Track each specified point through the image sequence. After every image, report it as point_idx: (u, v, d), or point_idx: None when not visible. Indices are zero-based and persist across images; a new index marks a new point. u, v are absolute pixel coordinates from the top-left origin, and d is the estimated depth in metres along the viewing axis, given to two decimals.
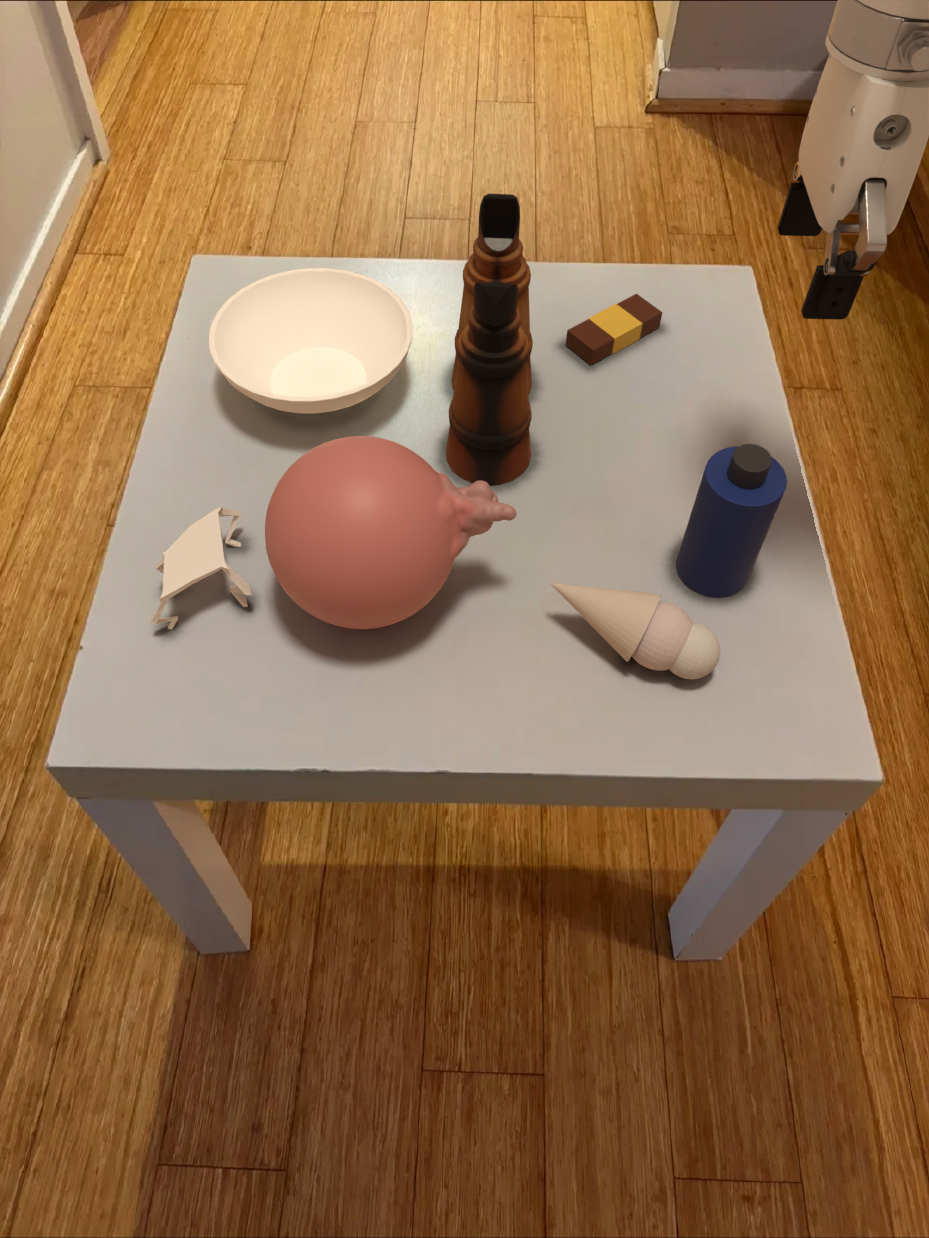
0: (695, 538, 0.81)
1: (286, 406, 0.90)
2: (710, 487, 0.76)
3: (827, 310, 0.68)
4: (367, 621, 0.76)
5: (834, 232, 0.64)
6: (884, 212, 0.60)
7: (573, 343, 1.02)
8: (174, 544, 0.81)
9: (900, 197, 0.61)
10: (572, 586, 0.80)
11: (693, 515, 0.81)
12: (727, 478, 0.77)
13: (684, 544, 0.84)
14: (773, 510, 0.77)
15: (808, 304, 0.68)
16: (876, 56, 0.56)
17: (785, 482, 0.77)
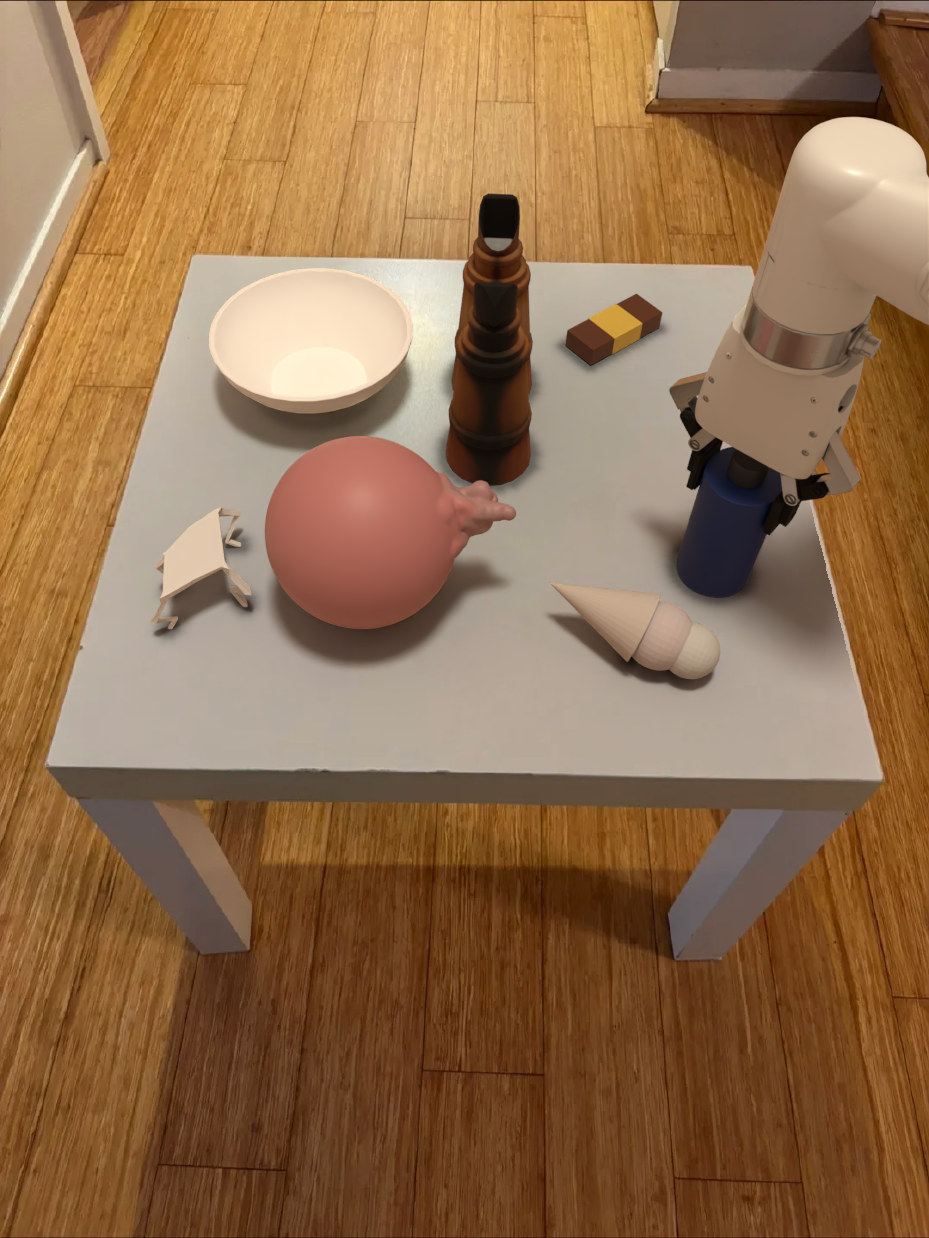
0: (695, 538, 0.81)
1: (287, 406, 0.90)
2: (710, 487, 0.76)
3: (788, 521, 0.77)
4: (367, 621, 0.76)
5: (795, 477, 0.72)
6: (847, 455, 0.70)
7: (573, 343, 1.02)
8: (174, 544, 0.81)
9: (844, 427, 0.70)
10: (572, 586, 0.80)
11: (693, 515, 0.81)
12: (727, 478, 0.77)
13: (684, 544, 0.84)
14: None
15: (772, 526, 0.76)
16: (829, 360, 0.63)
17: None
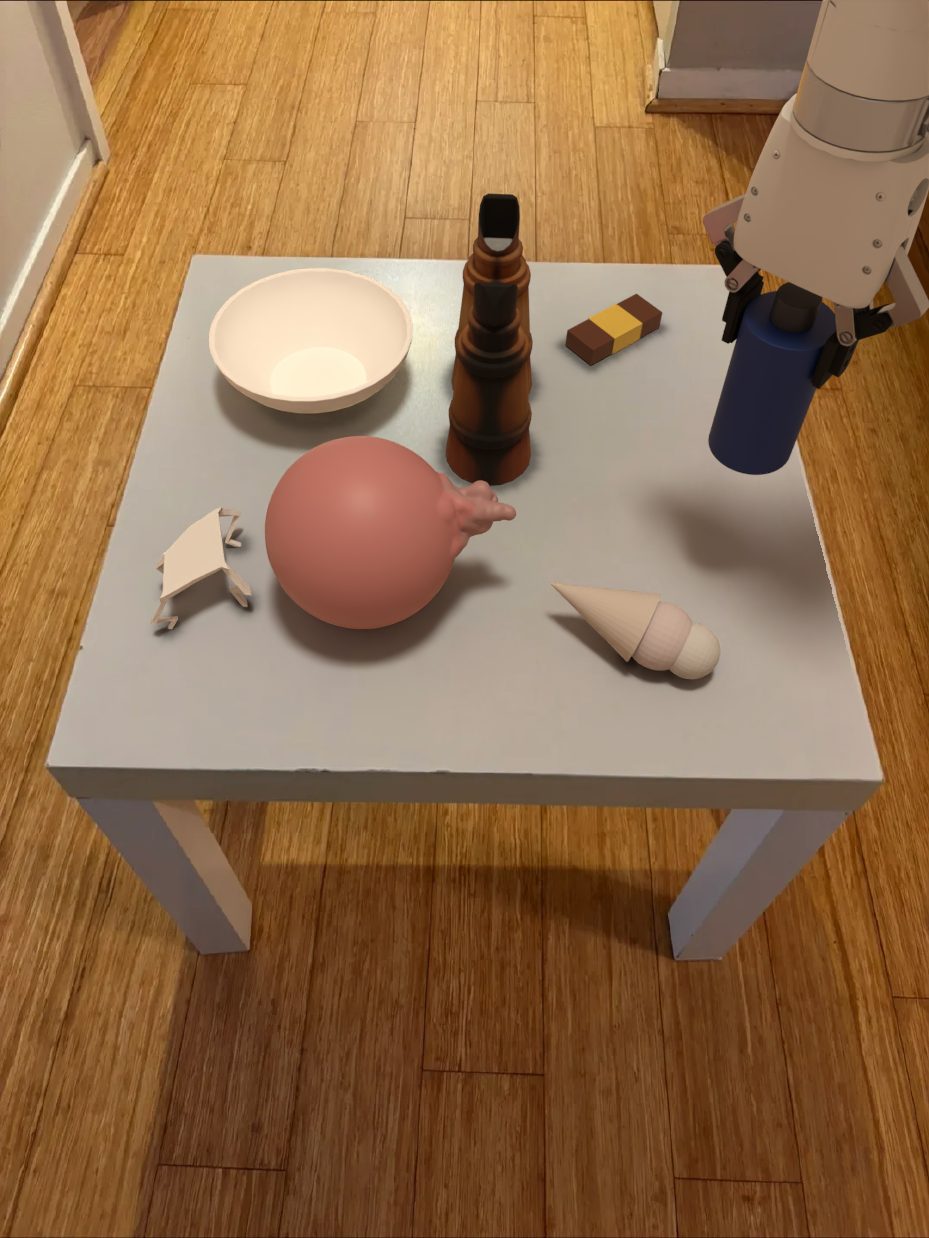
0: (732, 402, 0.71)
1: (286, 406, 0.90)
2: (750, 332, 0.66)
3: (841, 371, 0.67)
4: (367, 621, 0.76)
5: (853, 308, 0.62)
6: (915, 275, 0.60)
7: (573, 343, 1.02)
8: (174, 544, 0.81)
9: (910, 244, 0.60)
10: (572, 586, 0.80)
11: (729, 374, 0.71)
12: (770, 322, 0.67)
13: (718, 413, 0.74)
14: None
15: (823, 376, 0.66)
16: (901, 140, 0.53)
17: None
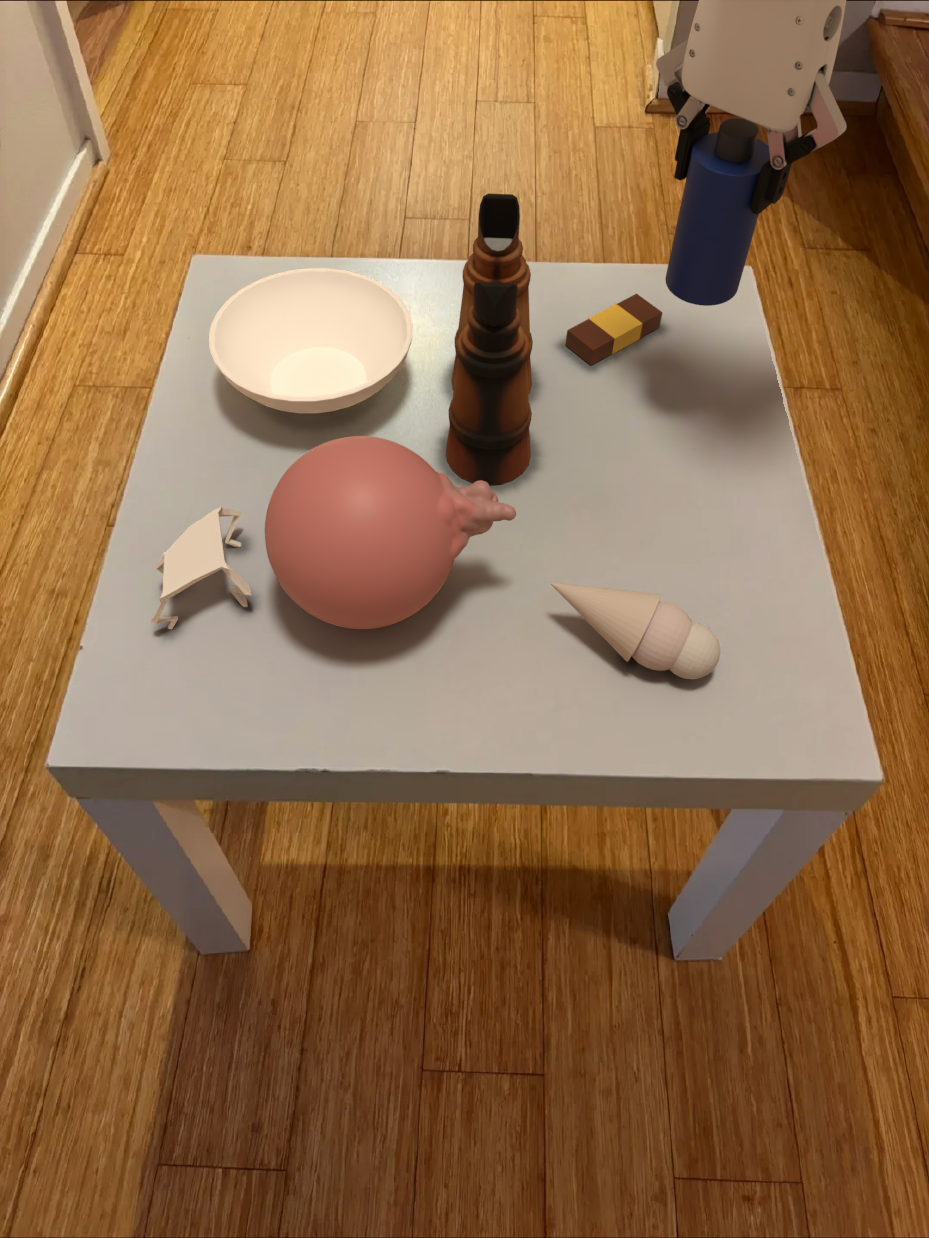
0: (683, 233, 0.81)
1: (286, 406, 0.90)
2: (697, 162, 0.76)
3: (776, 198, 0.77)
4: (367, 621, 0.76)
5: (782, 133, 0.72)
6: (834, 99, 0.70)
7: (573, 343, 1.02)
8: (174, 544, 0.81)
9: (830, 74, 0.70)
10: (572, 586, 0.80)
11: (681, 208, 0.81)
12: (714, 155, 0.77)
13: (673, 249, 0.84)
14: None
15: (760, 201, 0.76)
16: None
17: None
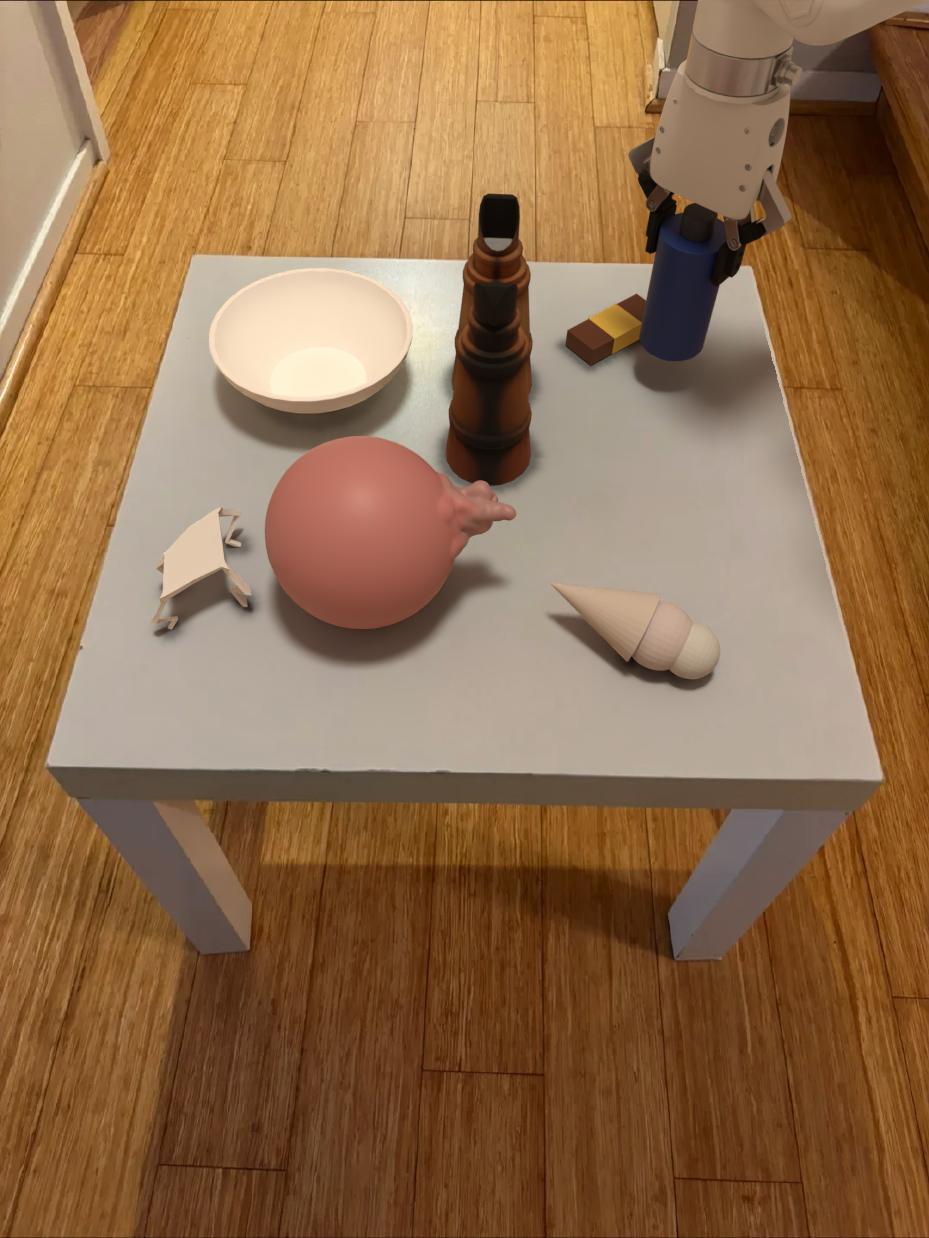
0: (653, 300, 0.92)
1: (286, 406, 0.90)
2: (664, 241, 0.87)
3: (733, 272, 0.87)
4: (367, 621, 0.76)
5: (736, 220, 0.83)
6: (780, 193, 0.80)
7: (573, 343, 1.02)
8: (174, 544, 0.81)
9: (777, 171, 0.81)
10: (572, 586, 0.80)
11: (651, 278, 0.91)
12: (679, 234, 0.87)
13: (645, 311, 0.94)
14: None
15: (719, 276, 0.87)
16: (758, 88, 0.74)
17: None
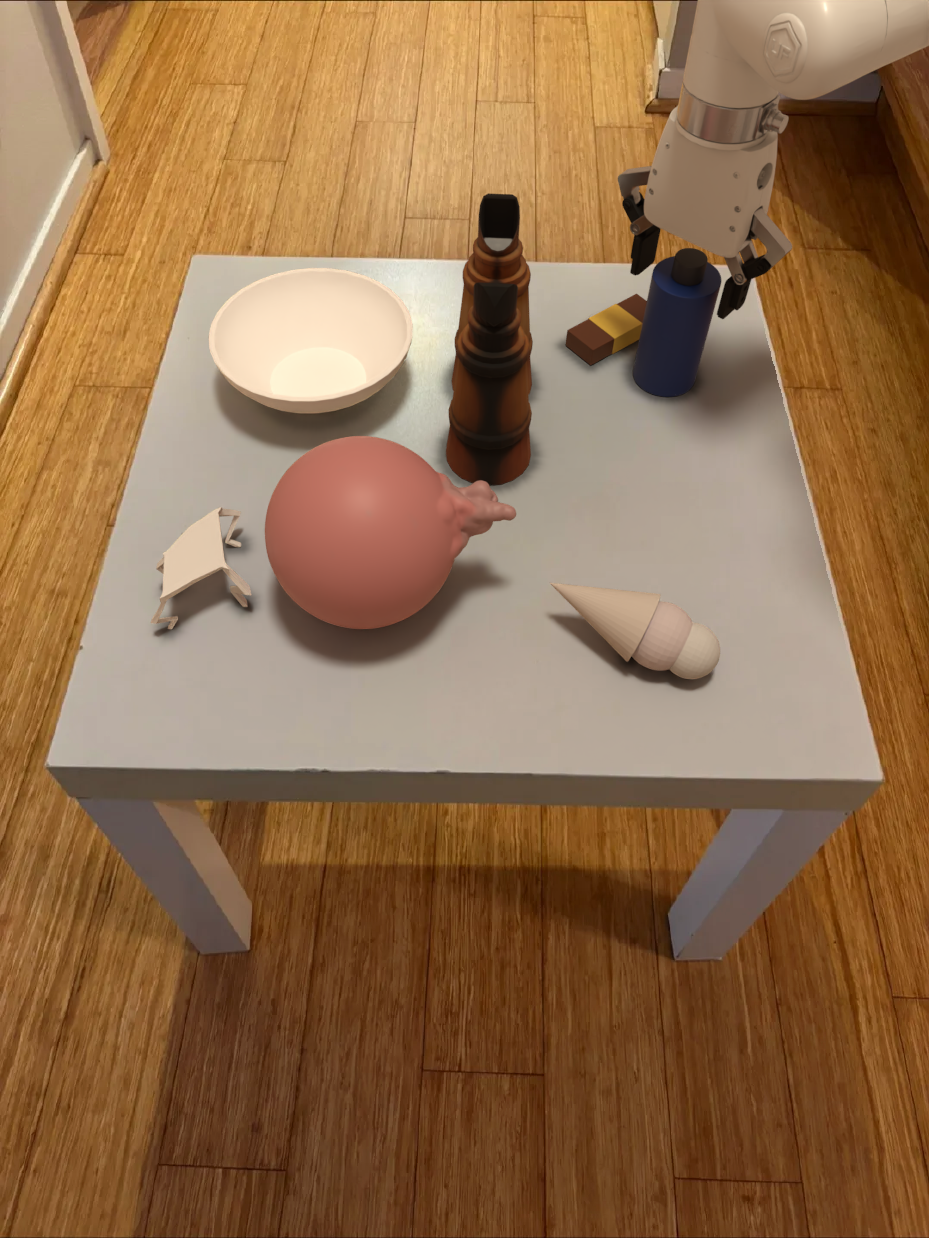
0: (646, 339, 0.95)
1: (286, 406, 0.90)
2: (656, 285, 0.91)
3: (738, 305, 0.89)
4: (367, 621, 0.76)
5: None
6: (775, 226, 0.83)
7: (573, 343, 1.02)
8: (174, 544, 0.81)
9: (766, 211, 0.84)
10: (572, 586, 0.80)
11: (644, 318, 0.95)
12: (671, 278, 0.91)
13: (638, 349, 0.98)
14: (710, 305, 0.91)
15: (725, 309, 0.89)
16: (746, 135, 0.77)
17: (720, 281, 0.91)
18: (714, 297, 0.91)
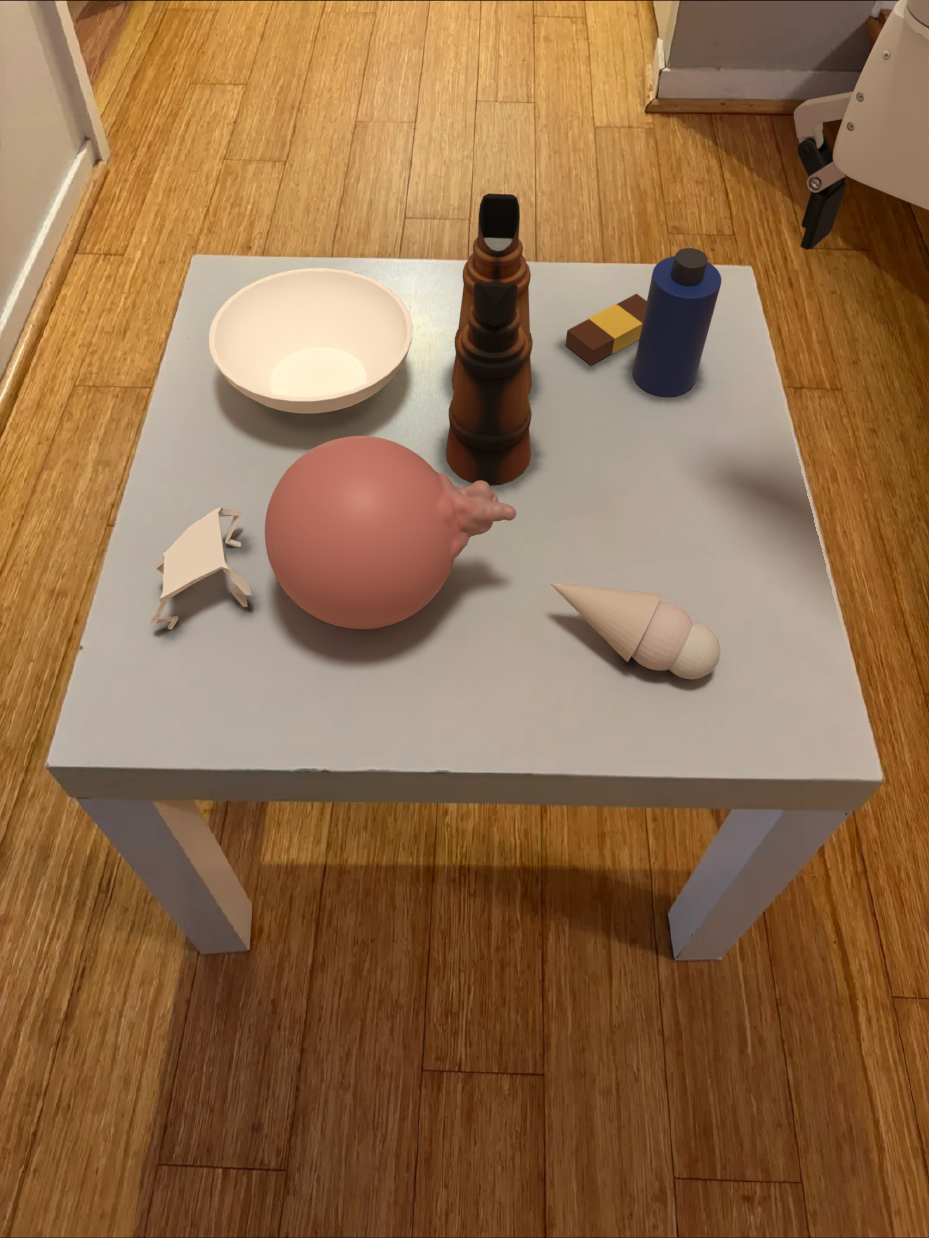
0: (646, 339, 0.95)
1: (286, 406, 0.90)
2: (656, 285, 0.91)
3: None
4: (367, 621, 0.76)
5: None
6: None
7: (573, 343, 1.02)
8: (174, 544, 0.81)
9: None
10: (572, 586, 0.80)
11: (644, 318, 0.95)
12: (671, 278, 0.91)
13: (638, 349, 0.98)
14: (710, 305, 0.91)
15: None
16: None
17: (720, 281, 0.91)
18: (714, 297, 0.91)
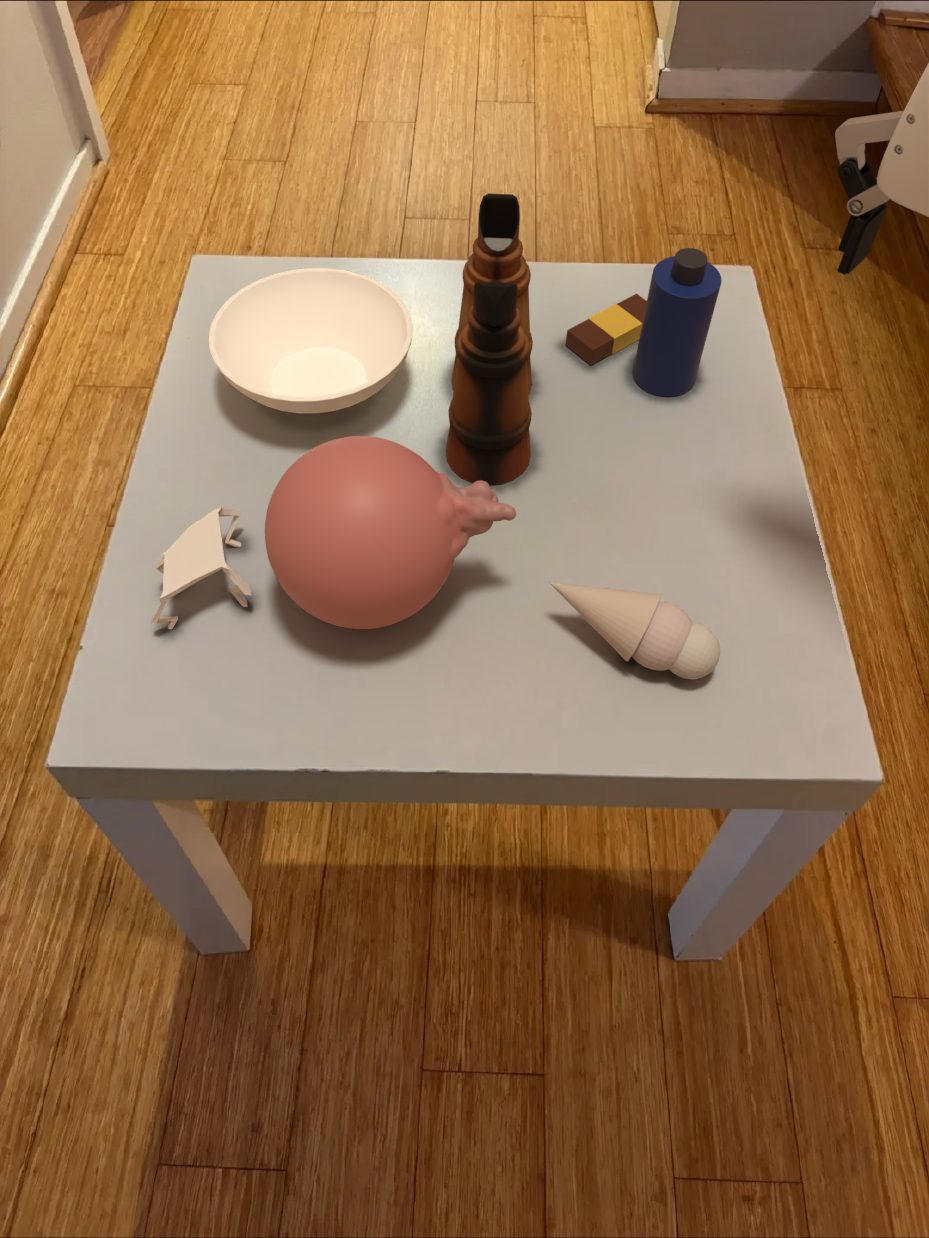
0: (646, 339, 0.95)
1: (286, 406, 0.90)
2: (656, 285, 0.91)
3: None
4: (367, 621, 0.76)
5: None
6: None
7: (573, 343, 1.02)
8: (174, 544, 0.81)
9: None
10: (572, 586, 0.80)
11: (644, 318, 0.95)
12: (671, 278, 0.91)
13: (638, 349, 0.98)
14: (710, 305, 0.91)
15: None
16: None
17: (720, 281, 0.91)
18: (714, 297, 0.91)
